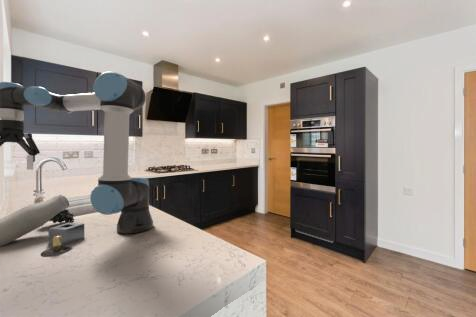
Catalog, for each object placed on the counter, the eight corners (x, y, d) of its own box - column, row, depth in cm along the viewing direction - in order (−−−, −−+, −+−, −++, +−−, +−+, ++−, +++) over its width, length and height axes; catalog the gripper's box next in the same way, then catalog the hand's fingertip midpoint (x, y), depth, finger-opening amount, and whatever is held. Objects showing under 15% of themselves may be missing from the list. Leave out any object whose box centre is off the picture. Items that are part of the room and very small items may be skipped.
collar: (84, 238, 92) (84, 223, 92) (65, 245, 84) (65, 229, 84) (68, 236, 94) (68, 222, 94) (48, 243, 86) (48, 228, 86)
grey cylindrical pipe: (-12, 246, 87) (67, 206, 108) (-6, 255, 81) (76, 211, 102) (-27, 226, 83) (58, 189, 104) (-22, 234, 78) (67, 192, 98)
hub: (79, 247, 83) (79, 232, 83) (56, 257, 75) (56, 241, 75) (57, 246, 85) (57, 231, 85) (33, 256, 76) (33, 240, 76)
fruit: (68, 231, 109) (37, 215, 101) (62, 230, 114) (32, 215, 106) (81, 215, 115) (53, 199, 106) (75, 215, 119) (47, 199, 111)
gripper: (36, 124, 107) (37, 168, 107) (-37, 115, 83) (-36, 172, 83) (49, 124, 105) (49, 169, 105) (-22, 114, 81) (-22, 172, 81)
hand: (12, 170), depth 94 cm, fingers open, 13 cm apart
